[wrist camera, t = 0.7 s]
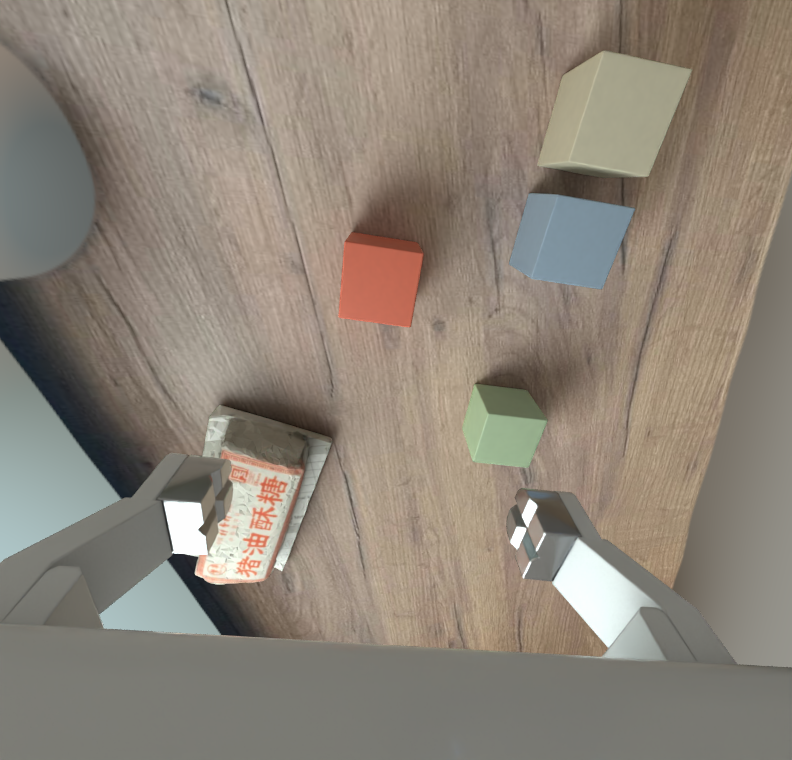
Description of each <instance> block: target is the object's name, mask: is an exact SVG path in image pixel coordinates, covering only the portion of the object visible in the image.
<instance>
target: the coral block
mask: <svg viewBox="0 0 792 760" xmlns="http://www.w3.org/2000/svg"><path fill="white" fill-rule="evenodd" d="M423 256H424V253H423V252H422V250H421V248H420V246H419V244H418V243H417V242H412V241H406V240H400V239H393V238H387V237H381V236H374V235H368V234H362V233H355V232H351V234H350V235H349V237H348V238H347V239H346V241H345V244H344V256H343V268H342V280H341V292H340V305H339V318H345V319H352V320H359V321H367V322H374V323H381V324H389V325H396V326H404V327H411V323H412V317H413V312H414V306H415V301H416V295H417V289H418V284H419V278H420V273H421V267H422V262H423Z"/></svg>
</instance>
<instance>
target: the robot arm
mask: <svg viewBox="0 0 792 760" xmlns="http://www.w3.org/2000/svg"><path fill="white" fill-rule="evenodd" d="M231 471H232V468H231V461H230V460H228V459H221V458H213V457H205V456H197V455H185V454H177V453H170V454H168V455H166V456H165V457H164V458H163V460H162V461H161V462H160V463H159V465H158V466H157V467H156V468H155V470H154V471H153V472H152V473H151V474H150V476H149V477H148V478H147V479H146V481H145V482H144V483H143V484H142V486H141V487H140V488H139V489H138V491H137V492H136V493H135V494H134V495H133V497H132V498H123V499H121V500H119V501H118V502H116V503H114V504H112V505H110V506H108V507H106V508H104V509H102V510H100V511H98V512H96V513H94V514H92V515H90V516H88V517H86V518H84V519H82V520H80V521H78V522H77V523H75V524H73V525H71V526H69V527H67V528H65V529H63V530H61V531H59V532H57V533H55V534H53V535H51V536H49V537H47V538H45V539H43V540H41V541H39V542H37V543H35V544H33V545H31V546H30V547H27V548H26V549H24V550H22V551H20V552H18V553H16V554H14V555H12V556H10V557H8V558H6V559H4V560H3V561H2V562H1V563H0V760H792V668H791V667H773V666H755V665H738V664H737V663H736V662H735V660H734V659H733V658H732V656H731V655H730V654H729V652H728V651H727V649H726V648H725V646H724V645H723V644H722V642H721V641H720V640H719V638H718V637H717V635H716V634H715V633H714V632H713V630H712V629H711V627H710V626H709V624H708V623H707V622H706V620H705V619H704V618H703V616H702V615H701V613H700V612H699V610H698V609H697V608H695V607H694V606H693V605H691V604H690V603H689V602H687V601H686V600H685V599H683V598H682V597H681V596H679V595H678V594H677V593H676V592H674V591H673V590H672V589H670V588H669V587H668V586H667V585H665V584H664V583H663V582H661V581H660V580H659V579H657V578H656V577H655V576H654V575H652V574H651V573H650V572H648V571H647V570H646V569H644V568H643V567H642V566H641V565H639V564H638V563H637V562H635V561H634V560H633V559H631V558H630V557H629V556H628V555H626V554H625V553H624V552H622V551H621V550H620V549H618V548H617V547H616V546H615V545H613V544H612V543H611V542H609V541H608V540H605V539H601V537H600V535H599V534H598V532H597V530H596V529H595V527H594V526H593V524H592V522H591V521H590V519H589V517H588V516H587V514H586V512H585V511H584V509H583V507H582V506H581V504H580V502H579V501H578V499H577V497H576V496H575V495H574V494H573V493H571V492H561V491H548V490H536V489H525V488H521V489H519V490H518V491H517V494H516V496H515V500H516V502H517V504H516V505H515V506H513V507H512V508H511V509H510V510H509V513H508V516H507V526H506V527H507V534H508V537H509V540H510V543H511V544H512V545H514V546H515V547H516V548H517V549H518V550H517V553H516V555H515V558H516V561H517V564H518V567H519V569H520V572H521V575H522V578H524V579H533V580H543V581H552V584H553V585H554V586H555V587H556V588H557V589H558V590H559V592H560V593H561V594H562V595H563V596H564V597H565V599H566V600H567V601H568V602H569V603H570V604H571V605H572V607H573V608H574V609H575V610H576V611H577V612H578V613H579V615H580V616H581V617H582V618H583V619H584V620H585V622H586V623H587V624H588V625H589V626H590V627H591V628H592V630H593V631H594V632H595V633H596V634H597V635H598V636H599V638H600V639H601V640H602V641H603V642H604V643H605V645H606V646H607V647H608V649H607V650H606V652H605V653H604V654H603V656H602V657H597V656H579V655H561V654H544V653H526V652H508V651H490V650H472V649H454V648H436V647H419V646H401V645H383V644H365V643H347V642H330V641H312V640H294V639H276V638H259V637H241V636H224V635H206V634H187V633H171V632H170V633H169V632H153V631H135V630H118V629H105V628H104V625H103V623H102V620H101V618H100V615H99V614H100V613H102V612H103V611H104V610H105V609H107V608H108V607H109V606H110V605H112V604H113V603H114V602H115V601H116V600H118V599H119V598H120V597H121V596H123V595H124V594H125V593H126V592H127V591H129V590H130V589H131V588H132V587H134V586H135V585H136V584H137V583H138V582H140V581H141V580H142V579H143V578H144V577H146V576H147V575H148V574H150V573H151V572H152V571H153V570H154V569H156V568H157V567H158V566H159V565H160V564H162V563H163V562H164V561H165V560H167V559H168V558H169V557H170V556H172V553H186V554H207V555H208V553H209V551H210V549H211V547H212V545H213V543H214V541H215V539H216V537H217V535H218V533H219V531H218V523H219V522H220V521H222V520H223V519H225V518H226V516H227V513H228V511H229V509H230V505H231V502H232V498H233V483H232V482H231V480H230V479H229V478H228V477H229V475H230V473H231Z"/></svg>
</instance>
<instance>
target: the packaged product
mask: <svg viewBox="0 0 792 760" xmlns="http://www.w3.org/2000/svg"><path fill="white" fill-rule="evenodd" d="M332 442H333V440H332V439H331V437H328V436H324V435H321V434H318V433H314V432H311V431H308V430H304V429H301V428H298V427H295V426H291V425H288V424H285V423H281V422H278V421H275V420H271V419H268V418H264V417H261V416H257V415H254V414H250V413H247V412H243V411H240V410H236V409H233V408H229V407H226V406H223V405H219V406H218V407H217V408H216V409H215V410H214V412H213V413H212V414H211V415H210V416H209V424H208V428H207V434H206V439H205V444H204V450H203V455H202V456H205V457H213V458H221V459H228V460H230V461H231V468H232V471H231V473H230V475H229V477H228V478H229V479H230V480H231V482H232V483H233V498H232V502H231V505H230V509H229V511H228V513H227V516H226V518H225V519H223V520H222V521H220V522H219V523H218V531H219V533H218V535H217V537H216V539H215V541H214V543H213V545H212V547H211V549H210V551H209V553H208V555H207V554H187V555H192V556H198V557H199V558H198V561H197V565H196V570H195V575H197V576H199V577H201V578H204V579H205V581H207V582H210V583H214V584H225V583H241V582H244V583H246V582H248V583H253V582H260V581H265V580H266V579H267V578H268V577H269V576H270V575H271V573H272V572H273V569H274V567H275V568H277V569H280V570H282V571H283V568H284V566H285V563H286V561H287V559H288V556H289V553H290V551H291V548H292V546H293V543H294V541H295V538H296V535H297V533H298V530H299V527H300V525H301V522H302V519H303V517H304V515H305V512H306V509H307V506H308V503H309V500H310V498H311V495H312V493H313V490H314V488H315V486H316V483H317V481H318V478H319V475H320V472H321V469H322V467H323V465H324V462H325V459H326V457H327V454H328V452H329V449H330V447H331V444H332ZM184 554H186V553H184Z"/></svg>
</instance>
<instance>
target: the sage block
mask: <svg viewBox="0 0 792 760" xmlns="http://www.w3.org/2000/svg"><path fill="white" fill-rule="evenodd" d="M547 421H548V420H547V418H546V417H545V416H544V414H543V413H542V411H541V410H540V408H539V407H538V405H537V404H536V402H535V401H534V400H533V398H532V397H531V395H530V394H529V392H528V391H527V390H522V389H514V388H506V387H498V386H490V385H482V384H475V385H474V388H473V392H472V395H471V399H470V402H469V406H468V409H467V413H466V416H465V420H464V423H463V427H462V429H463V432H464V435H465V438H466V442H467V445H468V448H469V451H470V454H471V457H472V461H473V462H478V463H488V464H497V465H507V466H517V467H526V468H528V467H529V465H530V463H531V460H532V458H533V455H534V453H535V451H536V448H537V446H538V443H539V441H540V438H541V436H542V434H543V431H544V429H545V426H546V424H547Z"/></svg>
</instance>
